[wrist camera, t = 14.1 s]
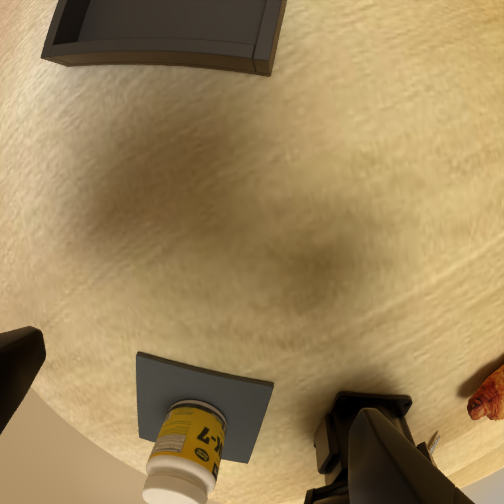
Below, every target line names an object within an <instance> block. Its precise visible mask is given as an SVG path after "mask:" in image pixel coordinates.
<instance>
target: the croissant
mask: <svg viewBox="0 0 504 504" xmlns="http://www.w3.org/2000/svg"><path fill="white" fill-rule="evenodd" d="M467 410H468V414H469V416H470V417H471V419H472V420H478V419H480V418H481V417H483V416H487V417H488V418H489V419H490V420H495V421H496V420H500V419H504V364H503V365H502V366H501V367H500V368H499V369H498V370H496V371H495V372H494V373H492V374H491V375H490V376H489V377H488V378H487V379H486V380H485V381H484V382H483V383H482V385H481V386H480V387H479V389H478V390H477V391H476V393H475V394H474V395H473V396H472V397H471V398H470V399H469V401H468V405H467Z"/></svg>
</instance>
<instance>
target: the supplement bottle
mask: <svg viewBox="0 0 504 504" xmlns="http://www.w3.org/2000/svg"><path fill="white" fill-rule="evenodd" d="M226 430H227V423H226V420H225V418H224V416H223V415H222V414H221V413H220V412H219V411H218V410H217V409H216V408H215V407H213V406H211V405H209V404H207V403H205V402H201V401H197V400H184V401H180V402H178V403H175V404H174V405H173V406H172V407H171V408H170V409H169V411H168V414H167V416H166V418H165V421H164V423H163V425H162V428H161V430H160V433H159V435H158V438H157V440H156V442H155V445H154V447H153V450H152V452H151V455H150V457H149V459H148V462H147V466H146V471H147V474H148V478H147V480H146V482H145V485H144V488H143V491H142V496H143V498H144V500H145V501H146V502H147V503H148V504H206V502H207V499H208V498H207V494H209V493H211V492H212V491H213V489H214V487H215V484H216V481H217V475H218V470H219V465H220V461H221V456H222V450H223V445H224V440H225V435H226Z"/></svg>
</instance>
